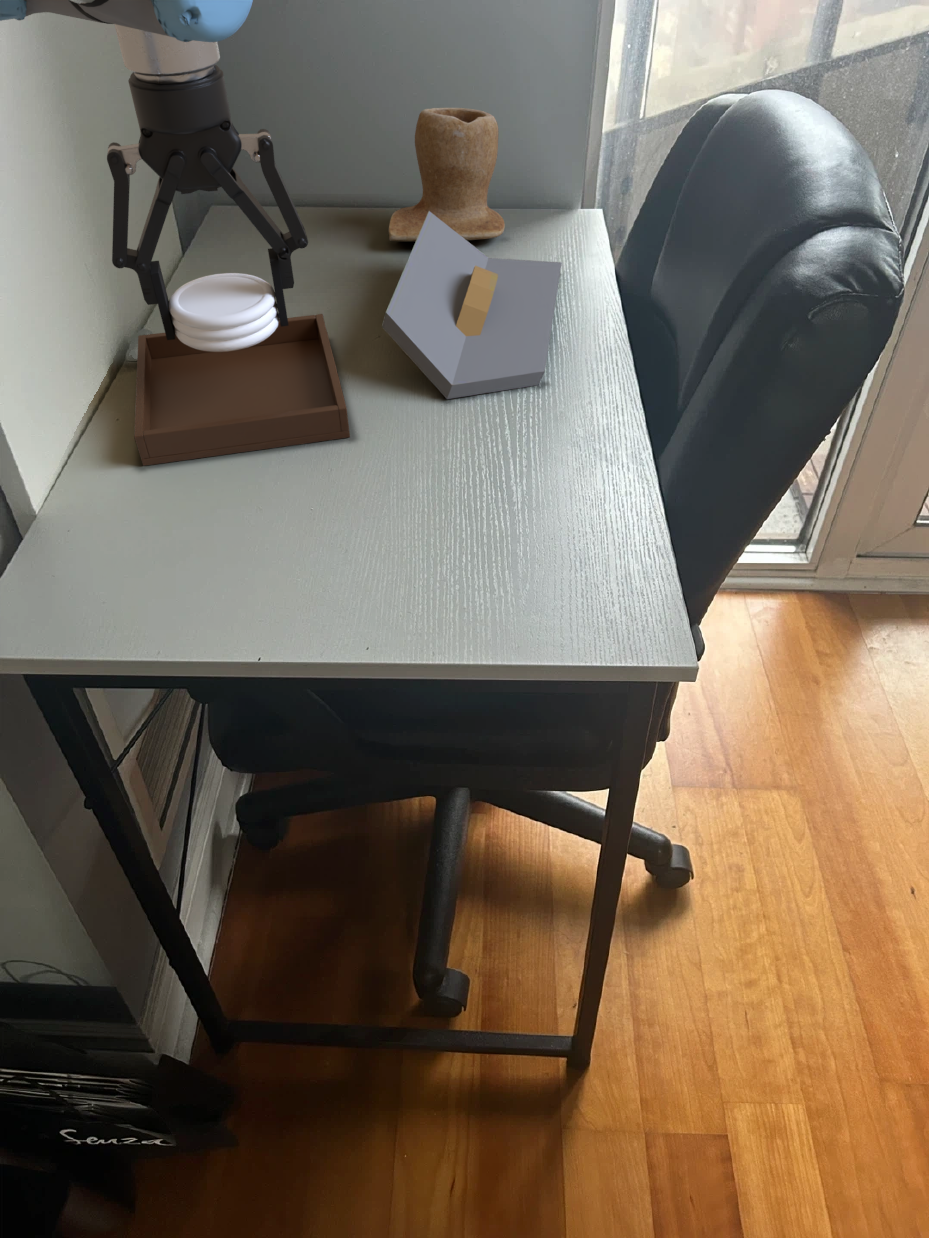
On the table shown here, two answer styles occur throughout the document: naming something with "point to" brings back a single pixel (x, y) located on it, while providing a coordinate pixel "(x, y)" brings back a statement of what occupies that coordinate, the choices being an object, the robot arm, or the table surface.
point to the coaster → (224, 312)
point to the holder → (237, 395)
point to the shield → (472, 314)
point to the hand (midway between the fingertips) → (227, 326)
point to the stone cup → (453, 175)
